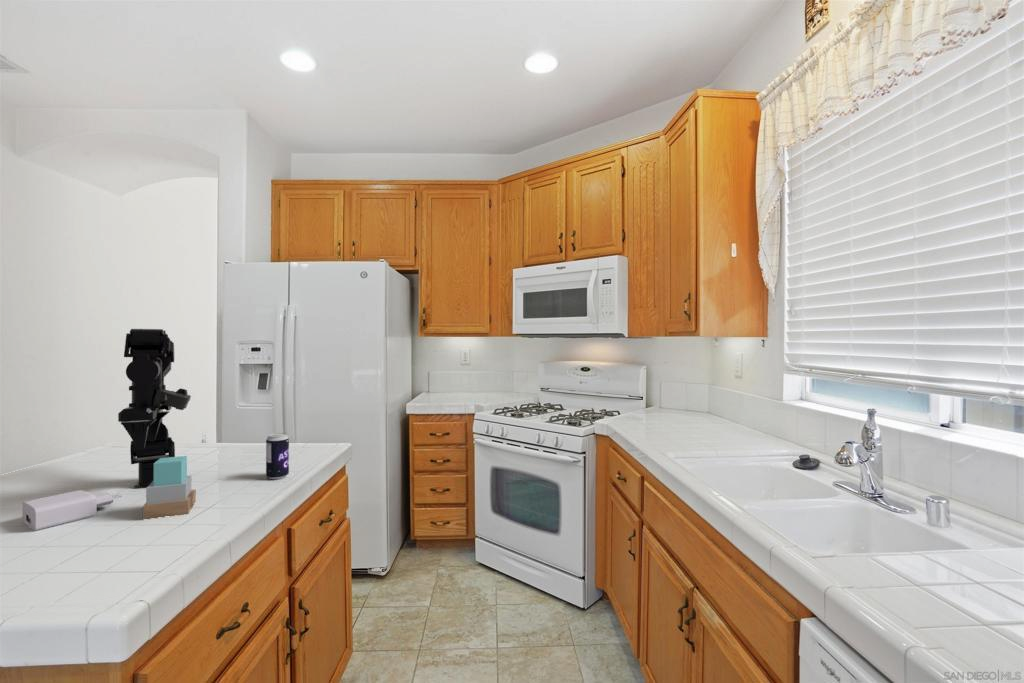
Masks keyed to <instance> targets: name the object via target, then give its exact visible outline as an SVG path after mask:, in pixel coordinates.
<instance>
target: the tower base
mask: <svg viewBox="0 0 1024 683" xmlns="http://www.w3.org/2000/svg"><path fill="white" fill-rule="evenodd" d="M196 499H197V498H196V489H191V492H190V493H189V495H188V497H187V498H186V500H179V501H171V502H163V503H155V504H147V505H146V502H145V503H144V504H143V506H142V520H143V519H147V520H152V519H151V518H155V519H159V518H158V517H162V518H166V517H165V516H170V517H176V516H175V515H177V516H184V514H185V515H189V514H190V512H191V511H192V509H193V507H194V506H195V504H196V503H195V502H197V501H196ZM194 503H195V504H194ZM193 505H194V506H193ZM190 510H191V511H190Z"/></svg>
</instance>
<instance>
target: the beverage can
mask: <svg viewBox="0 0 1024 683" xmlns="http://www.w3.org/2000/svg"><path fill="white" fill-rule="evenodd" d="M289 446H290V438H289V436H288V433H285V432H277V433H271V434H268V435H267V438H266V440H265V447H266V448H265V477H267V478H268V479H269V480H271V479H277V480H281V478H282V479H285V478H286V477H287V476H288V475H289V472H290V447H289ZM284 477H285V478H284Z"/></svg>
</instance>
